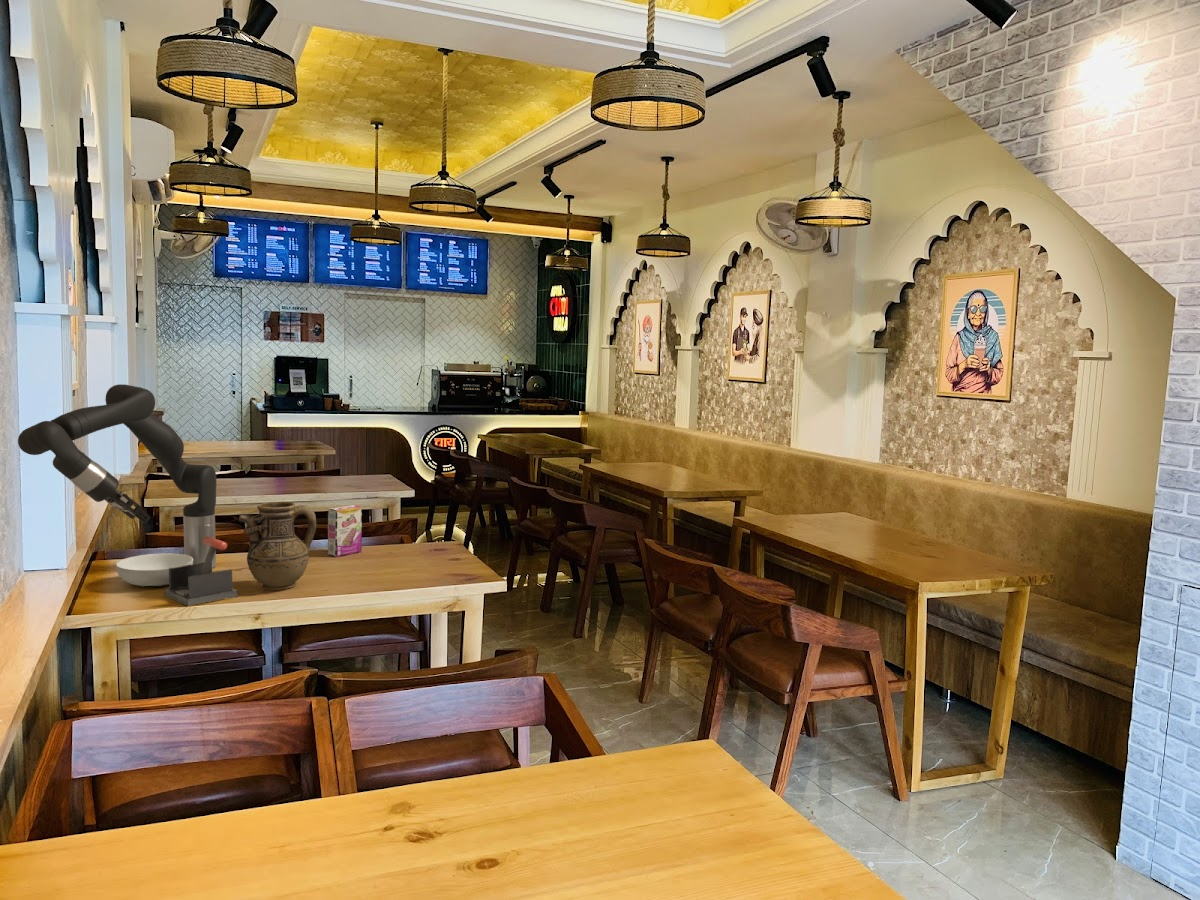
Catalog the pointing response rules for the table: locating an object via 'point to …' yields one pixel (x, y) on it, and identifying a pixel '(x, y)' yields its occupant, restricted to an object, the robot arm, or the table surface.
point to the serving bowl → (150, 568)
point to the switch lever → (211, 551)
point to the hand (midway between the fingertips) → (141, 518)
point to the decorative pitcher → (278, 544)
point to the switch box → (199, 584)
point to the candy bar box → (344, 530)
